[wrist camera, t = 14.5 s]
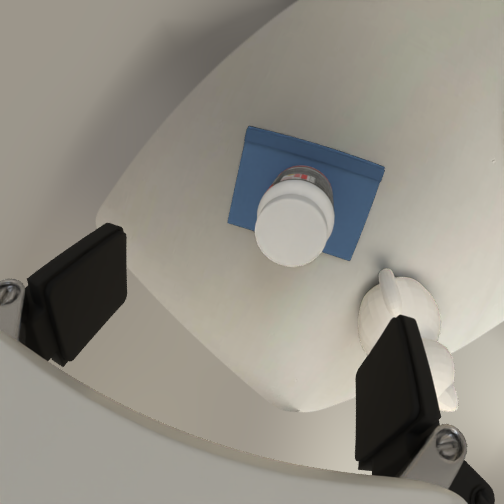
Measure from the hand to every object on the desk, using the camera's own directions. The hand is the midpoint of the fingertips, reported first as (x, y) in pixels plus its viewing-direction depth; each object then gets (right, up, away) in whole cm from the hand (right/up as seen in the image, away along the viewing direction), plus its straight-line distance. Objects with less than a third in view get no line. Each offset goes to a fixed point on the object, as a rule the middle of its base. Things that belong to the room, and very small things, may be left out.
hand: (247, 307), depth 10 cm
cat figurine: (+16, -3, +21) cm, 26 cm away
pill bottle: (+5, +7, +18) cm, 20 cm away
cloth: (+5, +7, +18) cm, 20 cm away
